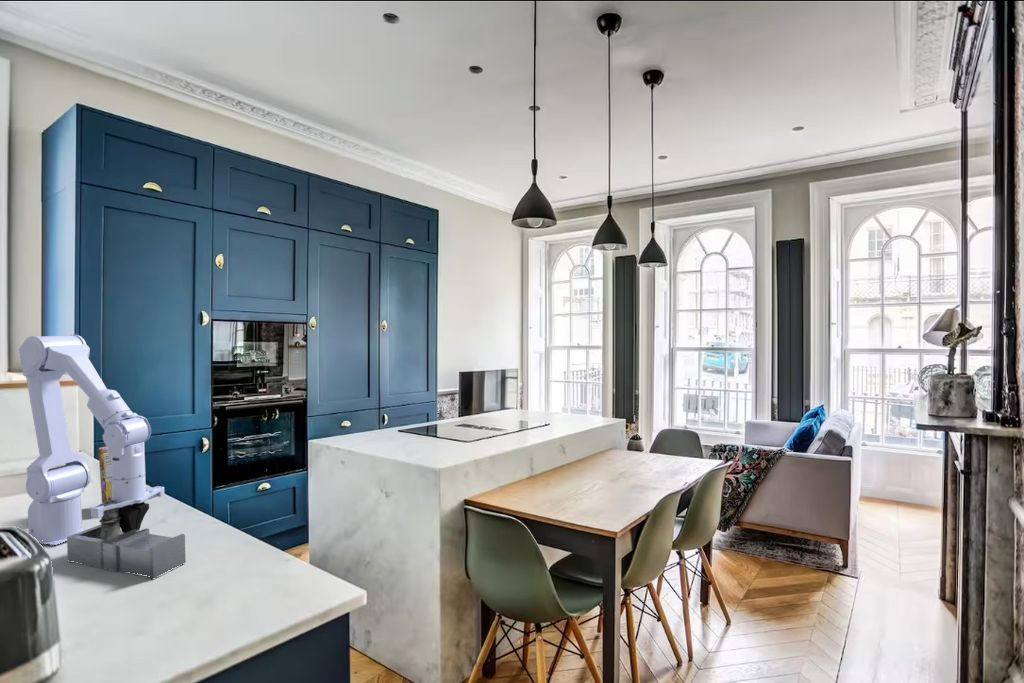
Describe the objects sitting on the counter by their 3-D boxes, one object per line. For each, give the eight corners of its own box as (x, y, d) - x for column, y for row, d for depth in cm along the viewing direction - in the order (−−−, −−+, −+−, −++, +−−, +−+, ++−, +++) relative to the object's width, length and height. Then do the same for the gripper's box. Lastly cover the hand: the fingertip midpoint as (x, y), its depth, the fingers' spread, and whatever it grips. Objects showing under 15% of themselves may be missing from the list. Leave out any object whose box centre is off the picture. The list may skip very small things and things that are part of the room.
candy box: (100, 507, 139) (97, 447, 138) (120, 503, 142) (118, 444, 141) (105, 516, 132) (103, 453, 131) (127, 512, 135) (125, 450, 134)
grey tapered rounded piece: (110, 562, 108) (108, 502, 107) (85, 560, 109) (83, 500, 108) (136, 550, 114) (134, 492, 113) (112, 547, 115) (110, 491, 114)
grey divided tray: (65, 562, 108) (64, 533, 107) (103, 547, 115) (102, 520, 114) (153, 579, 101) (152, 548, 101) (188, 562, 108) (187, 533, 108)
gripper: (108, 488, 106) (110, 557, 107) (174, 468, 120) (176, 529, 121) (81, 484, 108) (84, 552, 109) (149, 465, 122) (151, 525, 123)
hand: (131, 539), depth 115 cm, fingers closed
